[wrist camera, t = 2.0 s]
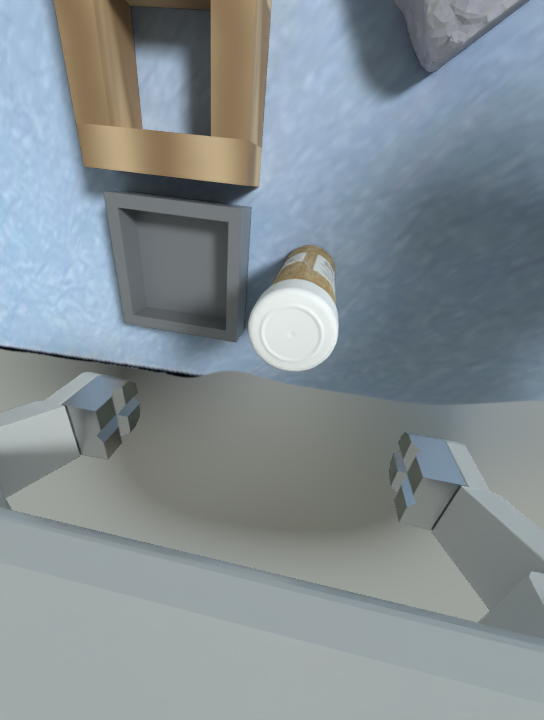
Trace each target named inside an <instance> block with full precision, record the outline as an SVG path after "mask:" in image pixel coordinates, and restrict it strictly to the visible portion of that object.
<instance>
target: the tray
mask: <svg viewBox="0 0 544 720" xmlns="http://www.w3.org/2000/svg"><path fill="white" fill-rule="evenodd" d="M104 197H105V204H106V210H107V216H108V222H109V228H110V235H111V241H112V247H113V253H114V259H115V266H116V272H117V278H118V284H119V291H120V297H121V303H122V309H123V315H124V322H125V323H127V324H133V325H139V326H145V327H151V328H156V329H162V330H168V331H174V332H179V333H185V334H191V335H197V336H203V337H208V338H214V339H220V340H226V341H231V342H237V340H238V339H239V337H240V336H241V334H242V332H243V331H244V328H245V311H246V294H247V277H248V260H249V243H250V226H251V209H252V207H247V206H239V205H231V204H223V203H215V202H207V201H198V200H190V199H182V198H174V197H166V196H158V195H150V194H142V193H134V192H123V191H104Z"/></svg>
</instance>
